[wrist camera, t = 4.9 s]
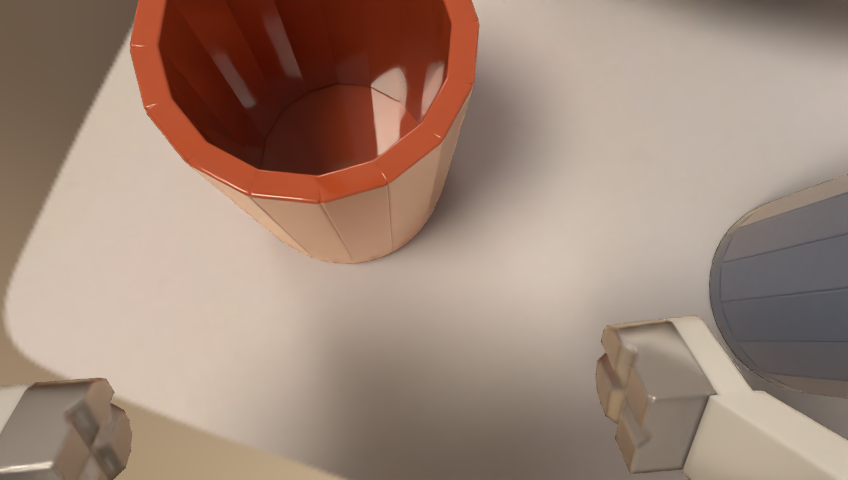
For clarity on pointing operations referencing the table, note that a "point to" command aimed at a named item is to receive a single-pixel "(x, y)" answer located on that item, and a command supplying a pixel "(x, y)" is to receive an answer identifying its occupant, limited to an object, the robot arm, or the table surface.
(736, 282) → the blue cup
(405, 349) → the table surface
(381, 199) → the rust cup
